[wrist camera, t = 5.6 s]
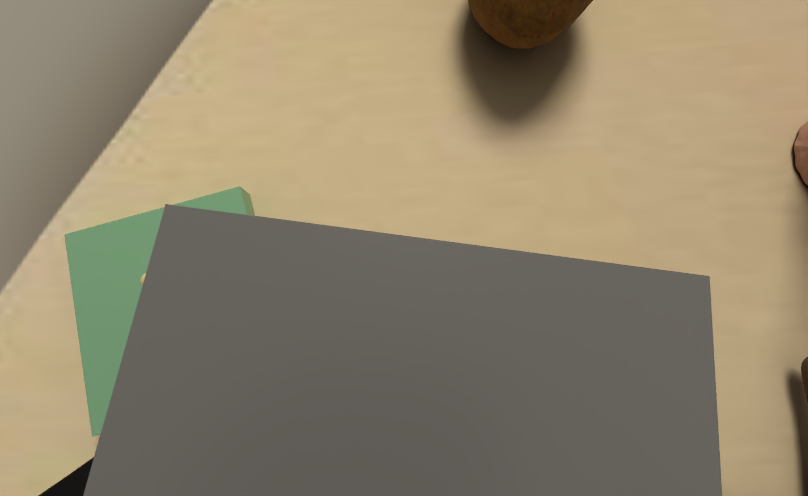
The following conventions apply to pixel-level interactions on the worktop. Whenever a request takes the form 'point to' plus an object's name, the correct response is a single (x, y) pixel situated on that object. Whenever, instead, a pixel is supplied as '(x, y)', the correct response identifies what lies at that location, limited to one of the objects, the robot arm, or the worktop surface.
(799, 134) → the ice cream cone
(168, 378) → the grey rectangular block
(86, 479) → the robot arm
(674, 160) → the worktop surface
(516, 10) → the potato
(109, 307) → the header board
